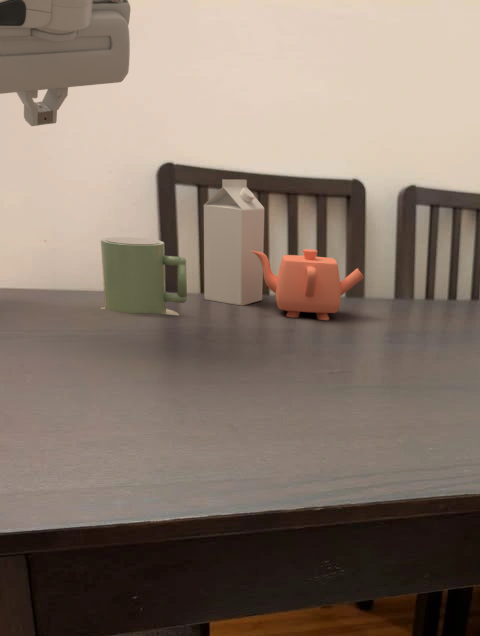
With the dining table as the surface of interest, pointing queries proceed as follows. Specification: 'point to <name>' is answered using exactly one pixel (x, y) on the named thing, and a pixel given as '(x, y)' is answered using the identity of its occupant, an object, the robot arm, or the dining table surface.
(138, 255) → the mug
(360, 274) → the teapot
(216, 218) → the milk carton
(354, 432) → the dining table surface
